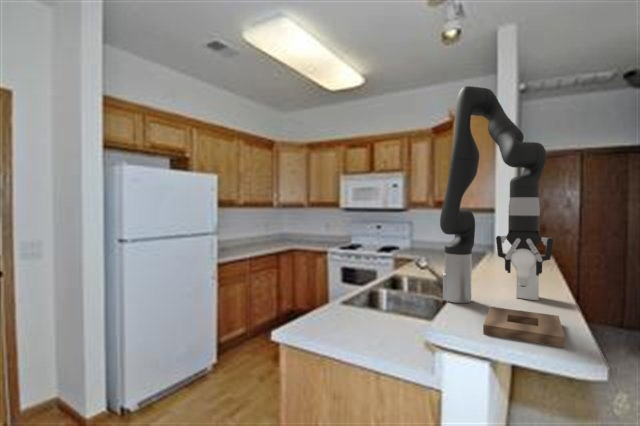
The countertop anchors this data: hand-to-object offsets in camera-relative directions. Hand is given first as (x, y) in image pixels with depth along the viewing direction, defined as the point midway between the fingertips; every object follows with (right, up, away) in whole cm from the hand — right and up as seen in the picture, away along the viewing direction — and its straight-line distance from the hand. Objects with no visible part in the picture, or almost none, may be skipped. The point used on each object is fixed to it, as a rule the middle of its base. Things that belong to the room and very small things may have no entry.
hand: (523, 273), depth 100 cm
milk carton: (+22, -15, +35) cm, 44 cm away
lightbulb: (0, -4, 0) cm, 4 cm away
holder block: (0, -15, 0) cm, 15 cm away
